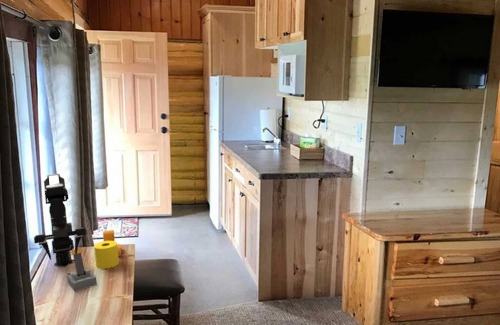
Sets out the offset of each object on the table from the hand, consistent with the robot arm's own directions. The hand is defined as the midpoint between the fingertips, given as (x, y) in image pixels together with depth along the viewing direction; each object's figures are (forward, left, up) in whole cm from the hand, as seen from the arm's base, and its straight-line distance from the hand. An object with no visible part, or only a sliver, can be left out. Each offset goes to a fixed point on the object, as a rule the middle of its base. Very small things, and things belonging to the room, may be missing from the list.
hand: (63, 257), depth 176 cm
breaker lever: (-9, 0, -11) cm, 15 cm away
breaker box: (-9, 0, -15) cm, 18 cm away
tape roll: (-29, -1, -16) cm, 33 cm away
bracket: (-41, -5, -16) cm, 44 cm away
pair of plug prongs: (-14, -7, -15) cm, 22 cm away
